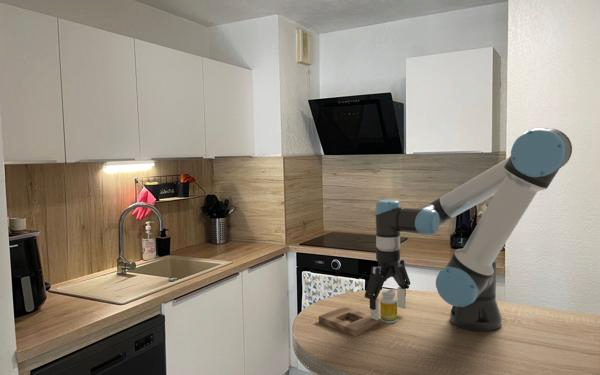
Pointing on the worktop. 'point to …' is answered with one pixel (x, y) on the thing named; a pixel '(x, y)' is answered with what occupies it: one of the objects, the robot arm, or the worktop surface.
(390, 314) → the supplement bottle
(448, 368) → the worktop surface
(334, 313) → the socket board
